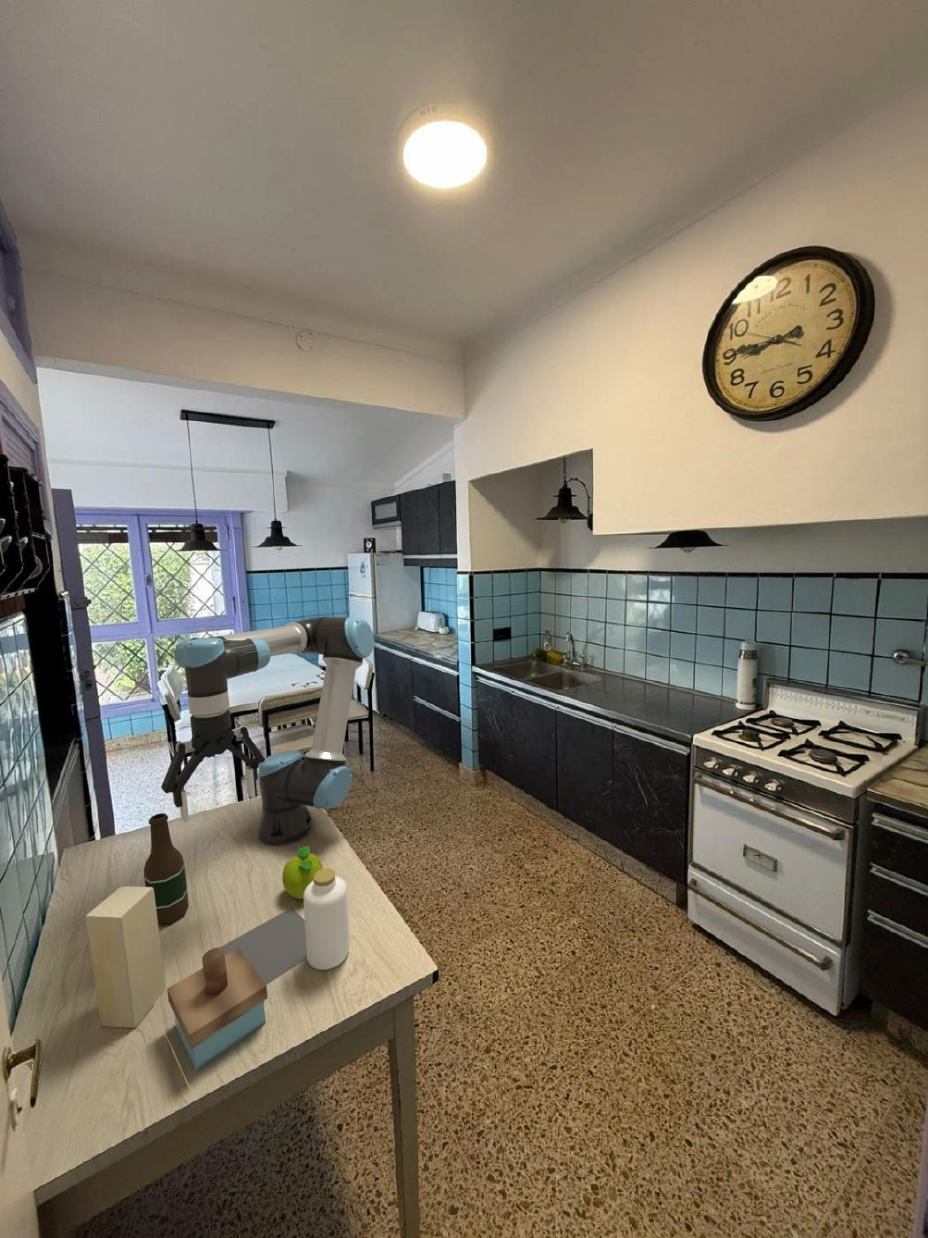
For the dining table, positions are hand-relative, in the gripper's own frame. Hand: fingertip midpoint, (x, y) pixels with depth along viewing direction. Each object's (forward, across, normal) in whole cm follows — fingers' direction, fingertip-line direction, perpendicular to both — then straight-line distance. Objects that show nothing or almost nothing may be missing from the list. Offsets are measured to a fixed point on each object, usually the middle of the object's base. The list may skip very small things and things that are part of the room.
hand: (219, 807), depth 107 cm
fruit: (+27, -15, +4) cm, 31 cm away
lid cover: (+22, +11, +25) cm, 35 cm away
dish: (+27, +11, +25) cm, 38 cm away
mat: (+27, -3, +15) cm, 31 cm away
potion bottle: (+27, -10, +25) cm, 38 cm away
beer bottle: (+27, +9, -12) cm, 31 cm away
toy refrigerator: (+27, +21, +9) cm, 35 cm away
